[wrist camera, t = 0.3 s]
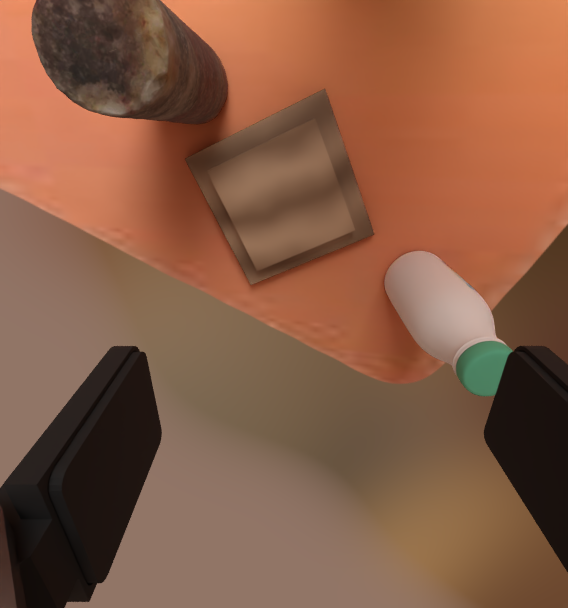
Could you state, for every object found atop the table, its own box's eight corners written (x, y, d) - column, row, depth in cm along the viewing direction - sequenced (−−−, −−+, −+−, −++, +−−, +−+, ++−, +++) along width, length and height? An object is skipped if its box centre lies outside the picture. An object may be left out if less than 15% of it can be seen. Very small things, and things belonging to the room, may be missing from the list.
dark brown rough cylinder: (139, 67, 36) (-4, 12, 18) (197, 19, 35) (101, -94, 17) (187, 138, 39) (103, 151, 21) (243, 97, 37) (203, 73, 20)
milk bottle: (376, 301, 48) (430, 408, 30) (391, 245, 44) (462, 327, 26) (433, 308, 48) (520, 417, 30) (452, 253, 45) (563, 339, 27)
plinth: (188, 157, 40) (179, 160, 37) (323, 89, 37) (327, 86, 34) (251, 280, 47) (249, 291, 43) (371, 230, 44) (378, 239, 40)
